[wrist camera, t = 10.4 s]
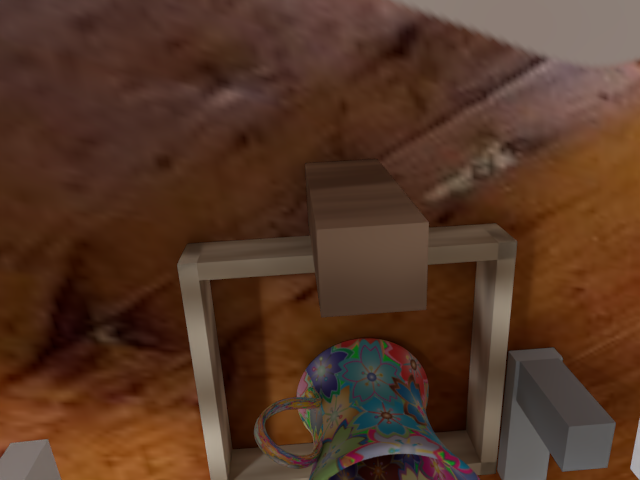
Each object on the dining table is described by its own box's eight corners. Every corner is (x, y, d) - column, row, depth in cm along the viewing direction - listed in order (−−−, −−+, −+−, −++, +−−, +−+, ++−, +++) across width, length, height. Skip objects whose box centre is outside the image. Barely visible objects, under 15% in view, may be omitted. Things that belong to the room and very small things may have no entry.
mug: (458, 363, 34) (531, 495, 24) (380, 462, 36) (416, 619, 26) (300, 280, 31) (307, 391, 21) (227, 394, 34) (203, 541, 24)
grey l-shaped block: (508, 351, 34) (564, 427, 27) (553, 347, 34) (620, 422, 27) (497, 470, 37) (544, 564, 31) (538, 467, 37) (593, 559, 31)
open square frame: (176, 170, 28) (114, 243, 18) (501, 151, 29) (620, 209, 19) (219, 462, 35) (192, 633, 25) (479, 440, 36) (556, 597, 26)
